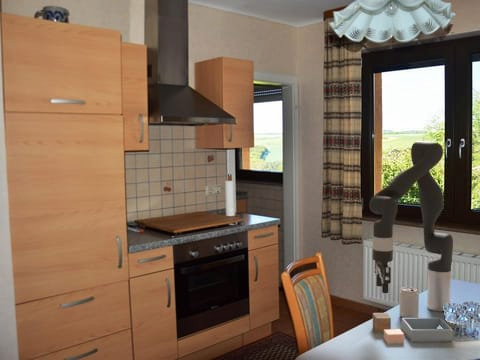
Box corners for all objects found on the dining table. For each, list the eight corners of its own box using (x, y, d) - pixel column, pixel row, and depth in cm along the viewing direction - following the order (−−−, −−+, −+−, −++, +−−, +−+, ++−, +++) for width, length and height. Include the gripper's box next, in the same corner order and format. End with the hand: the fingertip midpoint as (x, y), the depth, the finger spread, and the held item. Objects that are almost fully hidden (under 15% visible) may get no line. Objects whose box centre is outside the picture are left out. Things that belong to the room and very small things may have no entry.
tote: (401, 329, 188) (401, 317, 188) (440, 329, 188) (440, 317, 187) (411, 342, 176) (411, 330, 176) (453, 342, 176) (453, 330, 176)
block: (372, 327, 190) (372, 312, 190) (386, 327, 190) (386, 312, 190) (376, 333, 185) (376, 318, 184) (390, 333, 185) (390, 318, 184)
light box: (383, 338, 180) (383, 329, 180) (399, 338, 180) (399, 329, 180) (387, 343, 176) (387, 334, 175) (404, 343, 176) (404, 334, 176)
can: (419, 320, 197) (420, 292, 196) (400, 319, 198) (400, 291, 197) (416, 314, 204) (417, 286, 203) (398, 313, 205) (398, 285, 204)
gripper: (398, 252, 178) (397, 295, 179) (387, 244, 192) (386, 283, 193) (377, 252, 178) (377, 295, 179) (368, 244, 192) (367, 284, 193)
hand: (382, 289), depth 186 cm, fingers open, 8 cm apart
